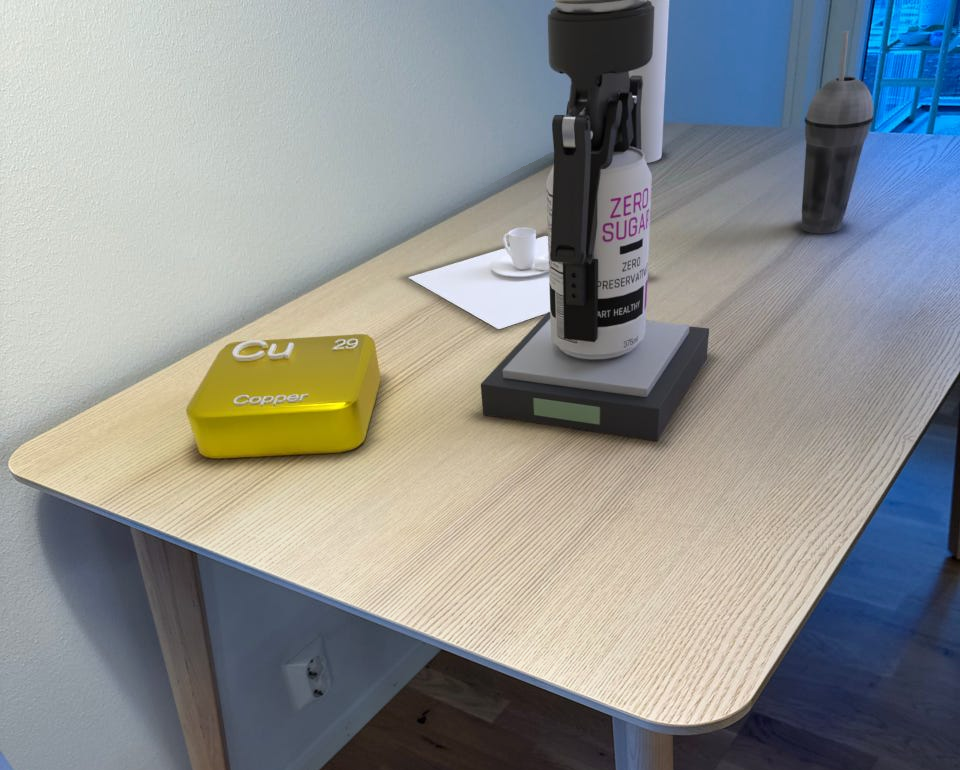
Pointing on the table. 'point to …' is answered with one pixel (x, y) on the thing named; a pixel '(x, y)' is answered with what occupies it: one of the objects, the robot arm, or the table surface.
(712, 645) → the table surface
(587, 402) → the scale
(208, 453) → the element tile
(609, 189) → the white drink can
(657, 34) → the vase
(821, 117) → the beverage cup
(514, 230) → the teacup and saucer
